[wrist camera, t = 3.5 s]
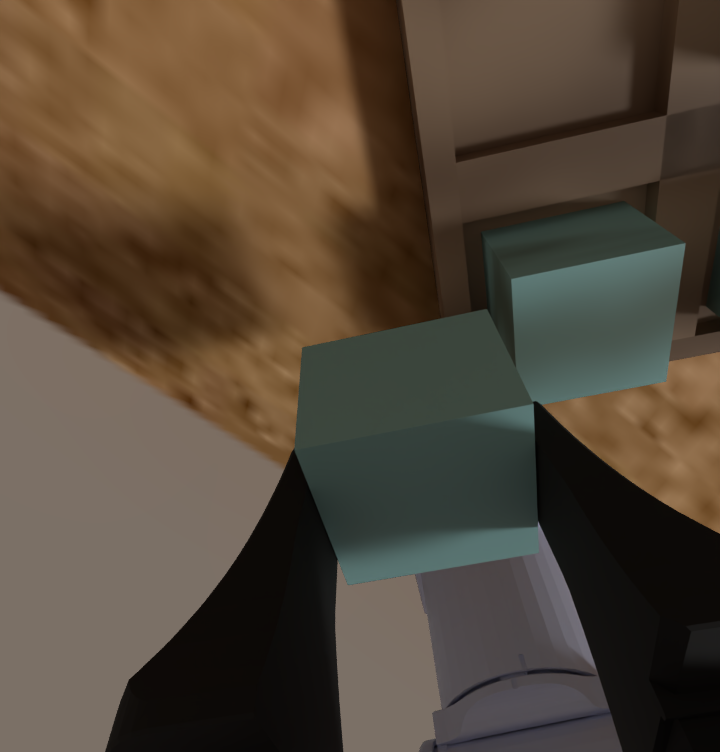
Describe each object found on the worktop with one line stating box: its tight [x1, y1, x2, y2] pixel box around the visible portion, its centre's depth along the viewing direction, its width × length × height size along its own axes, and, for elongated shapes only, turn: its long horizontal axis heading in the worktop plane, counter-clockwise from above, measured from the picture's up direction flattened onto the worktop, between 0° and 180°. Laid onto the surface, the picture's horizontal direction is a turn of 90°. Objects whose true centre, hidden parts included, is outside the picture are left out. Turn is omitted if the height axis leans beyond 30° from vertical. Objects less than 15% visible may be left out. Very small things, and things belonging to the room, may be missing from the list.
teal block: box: [294, 309, 539, 585], centre depth 14 cm, size 5×5×4 cm
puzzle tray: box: [396, 0, 720, 405], centre depth 16 cm, size 17×17×5 cm
